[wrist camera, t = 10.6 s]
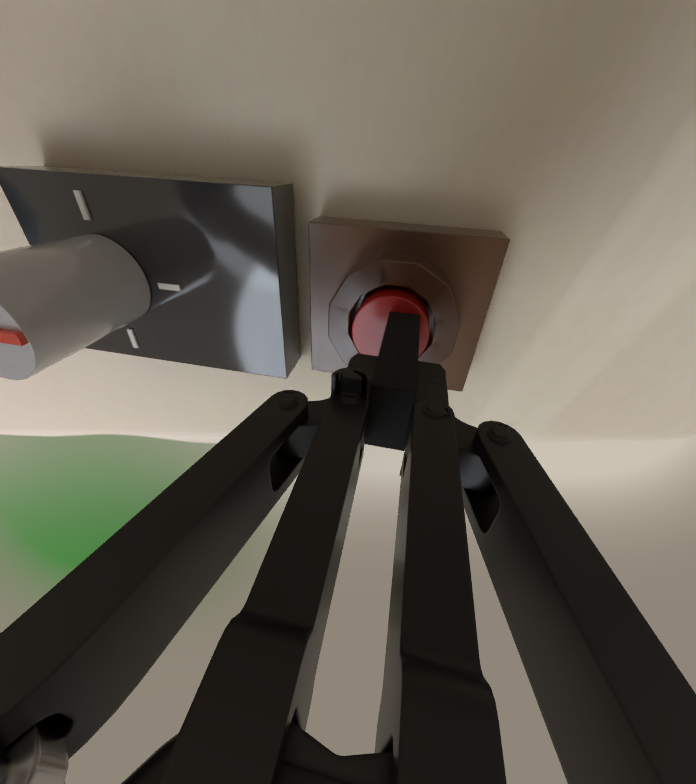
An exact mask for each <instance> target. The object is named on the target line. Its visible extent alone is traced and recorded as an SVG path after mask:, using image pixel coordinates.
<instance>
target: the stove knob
mask: <svg viewBox="0 0 696 784" xmlns="http://www.w3.org/2000/svg"><path fill="white" fill-rule="evenodd" d="M150 301H151V294H150V288H149V284H148V282H147V279H146V277H145V275H144V273H143V271H142V269H141V268H140V266H139V265H138V263H137V262H136V261H135V259H134V258H133V257H132V256H131V255H130V254H129V253H128V252H127V251H126V250H125V249H124V248H123V247H121V246H120V245H119V244H117V243H116V242H114V241H112V240H111V239H109V238H106V237H104V236H101V235H97V234H83V235H78V236H73V237H68V238H63V239H58V240H54V241H49V242H44V243H39V244H34V245H30V246H25V247H20V248H15V249H10V250H6V251H1V252H0V377H3V378H6V379H12V380H23V379H27V378H29V377H31V376H33V375H35V374H37V373H38V372H40V371H42V370H44V369H46V368H48V367H50V366H51V365H53V364H55V363H57V362H59V361H61V360H63V359H64V358H66V357H68V356H70V355H72V354H74V353H75V352H77V351H79V350H81V349H83V348H85V347H87V346H88V345H90V344H92V343H94V342H96V341H98V340H99V339H101V338H103V337H105V336H107V335H109V334H111V333H112V332H114V331H116V330H118V329H120V328H122V327H124V326H125V325H127V324H129V323H131V322H133V321H135V320H136V319H138V318H140V317H142V316H143V315H144V314H145V313H146V312H147V310H148V309H149V306H150Z"/></svg>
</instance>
